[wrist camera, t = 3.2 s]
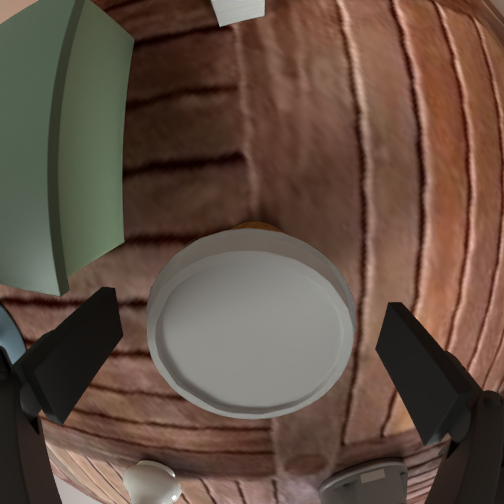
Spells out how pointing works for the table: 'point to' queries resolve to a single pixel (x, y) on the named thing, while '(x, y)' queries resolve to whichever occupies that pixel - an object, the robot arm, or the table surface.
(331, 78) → the table surface
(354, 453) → the table surface
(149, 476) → the flower vase
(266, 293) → the disposable coffee cup
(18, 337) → the cocktail glass
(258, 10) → the white gable carton
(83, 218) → the green lidded box
